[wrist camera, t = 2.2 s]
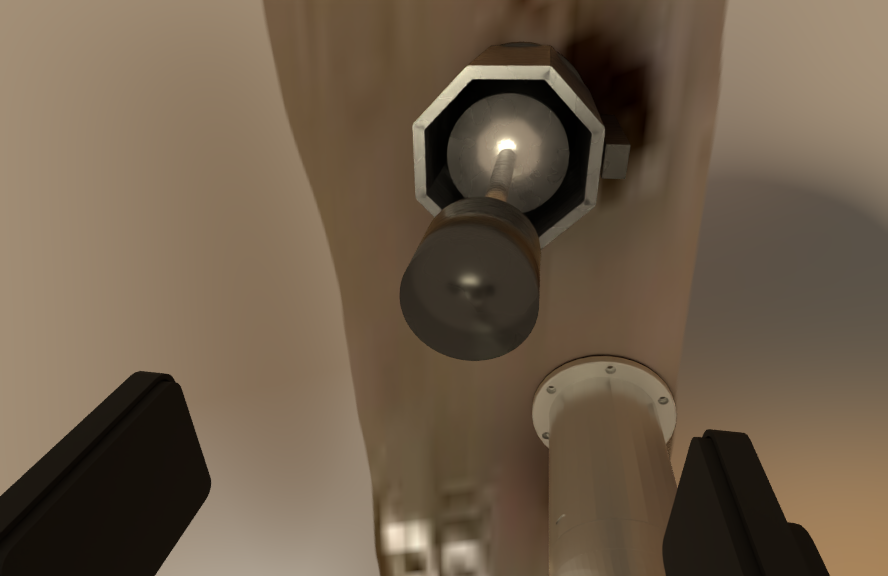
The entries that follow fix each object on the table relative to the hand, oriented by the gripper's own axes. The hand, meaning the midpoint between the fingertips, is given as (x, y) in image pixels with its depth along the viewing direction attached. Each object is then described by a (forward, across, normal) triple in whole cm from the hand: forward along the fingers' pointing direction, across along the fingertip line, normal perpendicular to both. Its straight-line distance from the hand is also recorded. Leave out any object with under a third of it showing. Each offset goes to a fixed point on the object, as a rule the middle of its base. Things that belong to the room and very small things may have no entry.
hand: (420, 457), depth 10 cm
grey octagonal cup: (+33, 0, +1) cm, 33 cm away
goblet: (+23, 0, +1) cm, 23 cm away
